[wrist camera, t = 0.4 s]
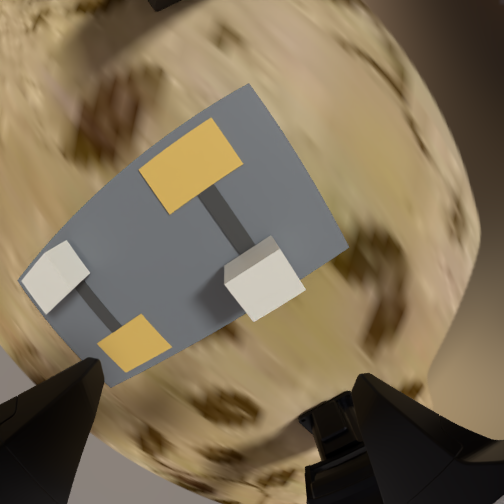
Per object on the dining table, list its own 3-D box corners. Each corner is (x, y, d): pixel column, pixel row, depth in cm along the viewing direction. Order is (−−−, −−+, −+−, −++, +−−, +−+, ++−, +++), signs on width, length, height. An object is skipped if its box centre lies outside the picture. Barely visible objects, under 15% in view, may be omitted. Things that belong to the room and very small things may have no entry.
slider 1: (90, 273, 18) (71, 290, 15) (64, 296, 18) (46, 314, 15) (66, 240, 17) (44, 252, 14) (42, 266, 17) (21, 281, 14)
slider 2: (294, 271, 19) (305, 289, 16) (249, 299, 19) (253, 322, 16) (271, 234, 18) (279, 248, 15) (224, 265, 18) (224, 284, 15)
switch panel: (341, 241, 20) (349, 247, 19) (114, 377, 23) (110, 388, 21) (247, 89, 17) (248, 82, 15) (26, 274, 19) (16, 281, 17)
